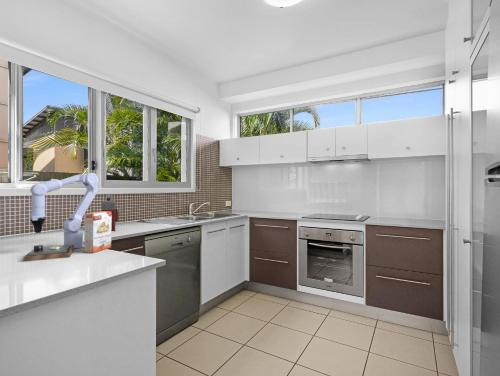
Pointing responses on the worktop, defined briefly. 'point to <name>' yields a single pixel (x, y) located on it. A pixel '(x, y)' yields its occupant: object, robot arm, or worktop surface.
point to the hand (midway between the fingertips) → (38, 232)
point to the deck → (49, 249)
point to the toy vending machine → (111, 207)
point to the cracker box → (97, 231)
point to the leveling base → (49, 255)
